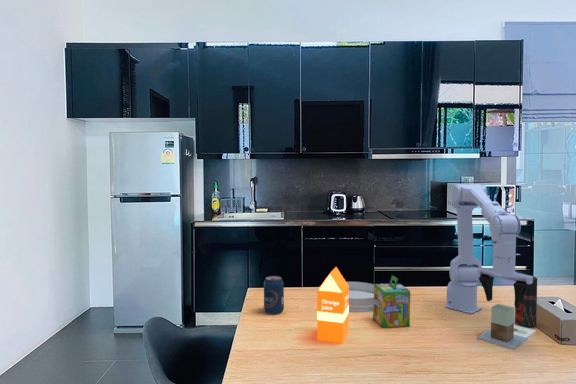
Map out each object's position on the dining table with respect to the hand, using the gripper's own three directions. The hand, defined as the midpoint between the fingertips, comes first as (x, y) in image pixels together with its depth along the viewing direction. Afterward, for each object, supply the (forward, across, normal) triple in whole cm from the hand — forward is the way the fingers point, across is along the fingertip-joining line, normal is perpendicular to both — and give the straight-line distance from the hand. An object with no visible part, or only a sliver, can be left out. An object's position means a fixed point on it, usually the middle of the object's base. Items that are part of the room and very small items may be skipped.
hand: (503, 303), depth 117 cm
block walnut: (+10, 0, 0) cm, 10 cm away
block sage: (+6, 0, 0) cm, 6 cm away
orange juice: (+11, -34, -35) cm, 50 cm away
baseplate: (+10, 0, 0) cm, 10 cm away
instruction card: (+10, +1, +9) cm, 14 cm away
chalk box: (+11, -29, -13) cm, 34 cm away
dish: (+11, -50, -6) cm, 52 cm away
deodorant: (+11, 0, +17) cm, 20 cm away
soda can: (+11, -62, -35) cm, 72 cm away
